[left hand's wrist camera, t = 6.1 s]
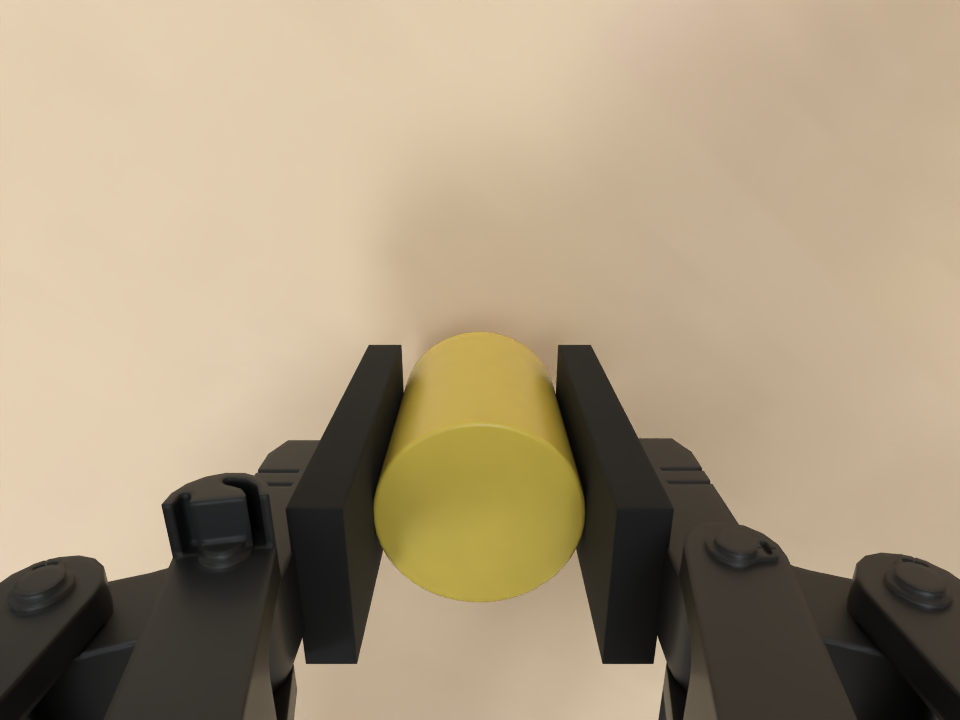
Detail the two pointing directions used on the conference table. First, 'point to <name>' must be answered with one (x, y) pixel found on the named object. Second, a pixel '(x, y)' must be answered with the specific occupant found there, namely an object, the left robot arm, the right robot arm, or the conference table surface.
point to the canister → (479, 474)
